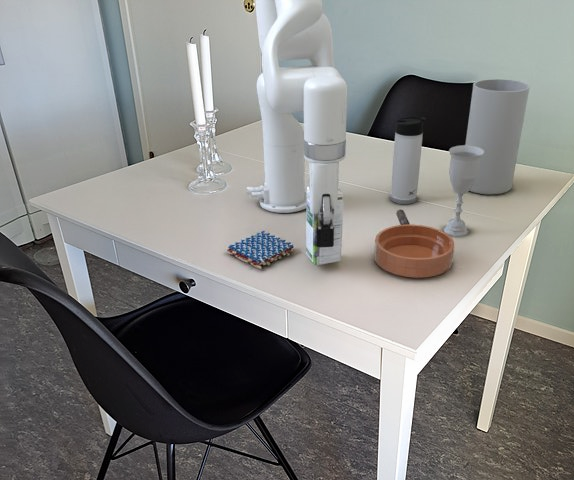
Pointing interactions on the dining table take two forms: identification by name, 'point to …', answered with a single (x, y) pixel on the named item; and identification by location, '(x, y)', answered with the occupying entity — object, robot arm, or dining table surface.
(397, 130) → the travel mug
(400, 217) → the pan handle
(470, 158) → the chalice
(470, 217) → the dining table surface
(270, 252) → the woven mat
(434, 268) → the pan
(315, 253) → the syrup box
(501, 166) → the cylinder vase
